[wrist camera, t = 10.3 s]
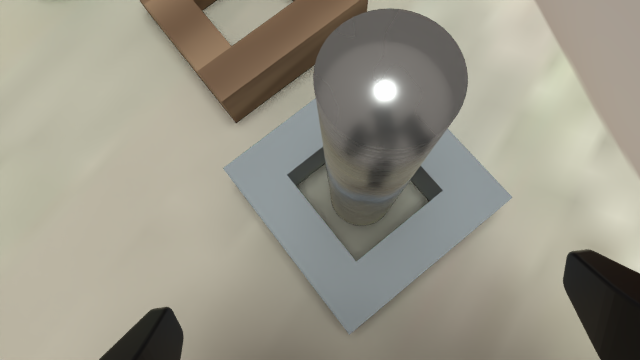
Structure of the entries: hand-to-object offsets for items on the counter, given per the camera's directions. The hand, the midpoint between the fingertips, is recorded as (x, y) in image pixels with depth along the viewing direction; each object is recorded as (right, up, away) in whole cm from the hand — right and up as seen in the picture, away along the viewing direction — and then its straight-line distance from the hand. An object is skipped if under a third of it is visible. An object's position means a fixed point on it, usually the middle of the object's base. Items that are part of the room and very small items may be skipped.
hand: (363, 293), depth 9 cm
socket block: (+1, +2, +13) cm, 14 cm away
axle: (+1, +2, +13) cm, 14 cm away
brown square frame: (-5, +13, +16) cm, 21 cm away
